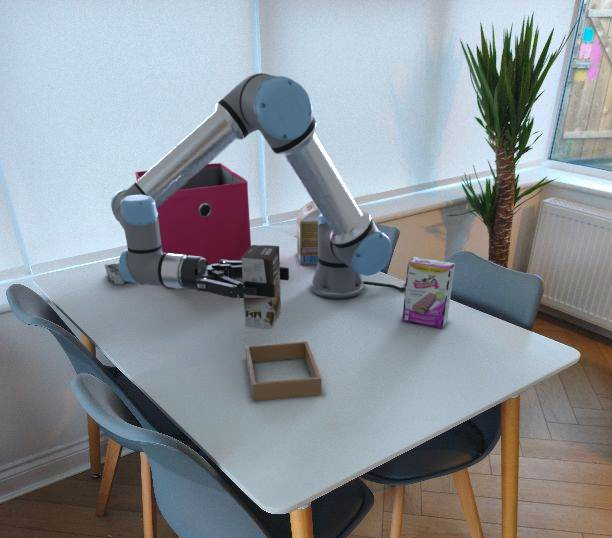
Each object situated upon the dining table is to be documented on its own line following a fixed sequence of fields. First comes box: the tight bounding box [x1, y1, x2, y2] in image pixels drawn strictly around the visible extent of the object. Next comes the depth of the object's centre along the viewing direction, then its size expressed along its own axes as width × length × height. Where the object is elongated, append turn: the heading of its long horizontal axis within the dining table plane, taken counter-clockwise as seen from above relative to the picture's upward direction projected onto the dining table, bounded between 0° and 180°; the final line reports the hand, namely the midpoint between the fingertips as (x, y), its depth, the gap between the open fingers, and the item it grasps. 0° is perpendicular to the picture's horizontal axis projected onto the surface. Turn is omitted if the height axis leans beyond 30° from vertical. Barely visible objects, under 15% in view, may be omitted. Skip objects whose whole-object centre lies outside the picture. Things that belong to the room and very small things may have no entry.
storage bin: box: [134, 162, 252, 289], centre depth 186 cm, size 28×29×28 cm
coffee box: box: [241, 244, 282, 330], centre depth 132 cm, size 9×6×16 cm
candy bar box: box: [401, 256, 456, 329], centre depth 155 cm, size 11×5×16 cm, turn 65°
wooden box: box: [244, 340, 322, 402], centre depth 135 cm, size 15×18×4 cm
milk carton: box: [296, 200, 321, 266], centre depth 196 cm, size 11×11×19 cm
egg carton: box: [104, 262, 129, 285], centre depth 186 cm, size 11×8×4 cm
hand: (281, 282), depth 131 cm, fingers closed on coffee box, 9 cm apart
